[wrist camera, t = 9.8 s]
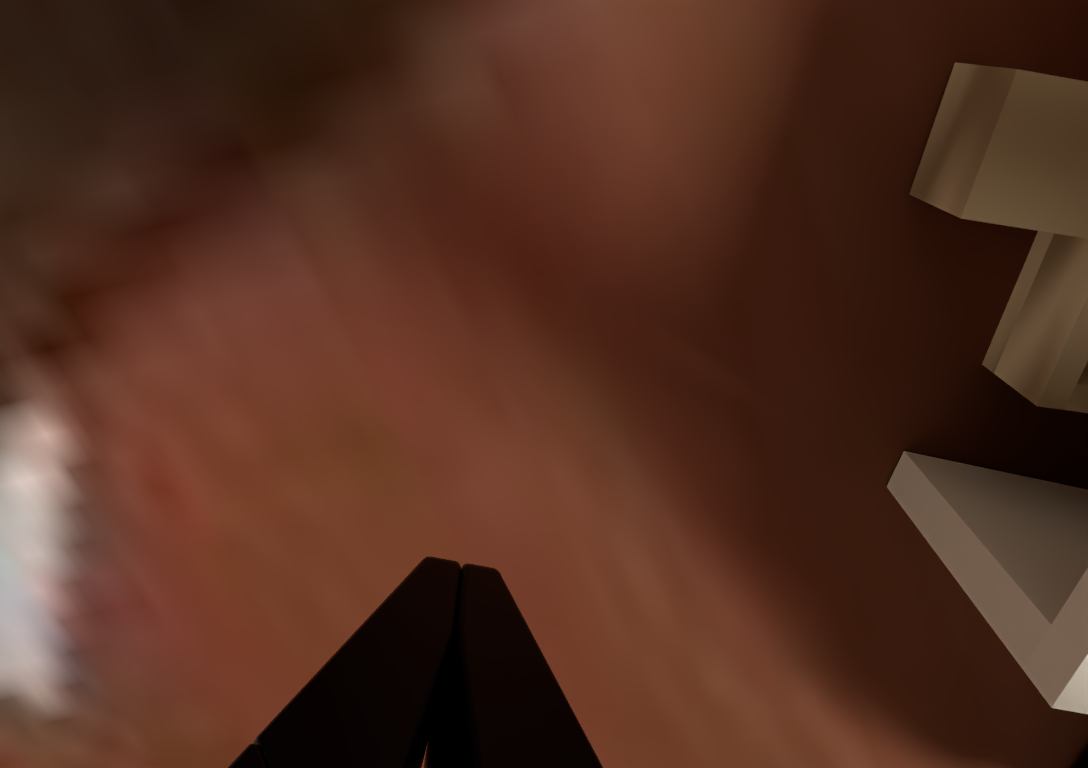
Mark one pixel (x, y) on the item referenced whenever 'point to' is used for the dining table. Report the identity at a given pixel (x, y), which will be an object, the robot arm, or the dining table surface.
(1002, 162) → the beige flat piece
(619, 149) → the dining table surface
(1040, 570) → the cream flanged slab
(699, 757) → the dining table surface
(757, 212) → the dining table surface
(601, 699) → the dining table surface
